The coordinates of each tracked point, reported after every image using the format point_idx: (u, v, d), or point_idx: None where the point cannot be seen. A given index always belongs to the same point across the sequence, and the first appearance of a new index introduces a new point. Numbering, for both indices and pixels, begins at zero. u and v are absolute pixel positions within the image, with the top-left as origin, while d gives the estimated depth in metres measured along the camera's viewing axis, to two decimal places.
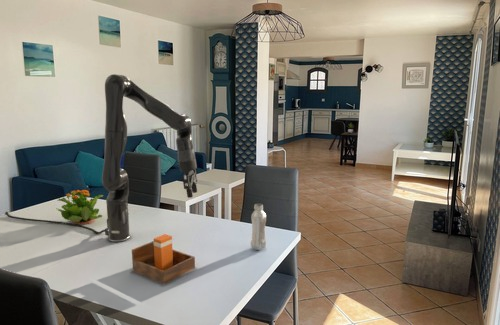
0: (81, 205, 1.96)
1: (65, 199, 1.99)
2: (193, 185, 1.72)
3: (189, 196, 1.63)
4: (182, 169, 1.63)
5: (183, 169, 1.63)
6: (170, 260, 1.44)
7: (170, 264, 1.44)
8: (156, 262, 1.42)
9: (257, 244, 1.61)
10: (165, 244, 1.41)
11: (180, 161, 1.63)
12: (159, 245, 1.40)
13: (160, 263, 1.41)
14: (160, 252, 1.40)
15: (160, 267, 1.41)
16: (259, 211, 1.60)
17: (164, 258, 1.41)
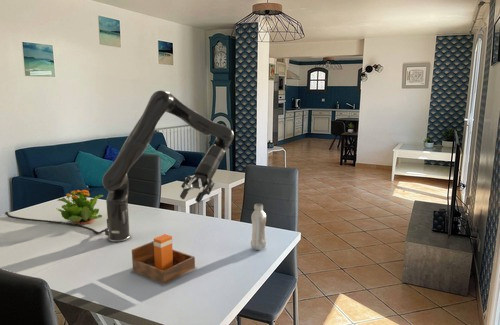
0: (81, 205, 1.96)
1: (65, 199, 1.99)
2: (186, 191, 1.55)
3: (199, 200, 1.49)
4: (207, 173, 1.54)
5: (208, 174, 1.54)
6: (170, 260, 1.44)
7: (170, 264, 1.44)
8: (156, 262, 1.42)
9: (257, 244, 1.61)
10: (165, 244, 1.41)
11: (210, 165, 1.56)
12: (159, 245, 1.40)
13: (160, 263, 1.41)
14: (160, 252, 1.40)
15: (160, 267, 1.41)
16: (259, 211, 1.60)
17: (164, 258, 1.41)
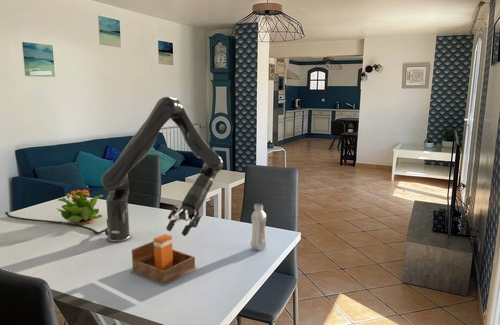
0: (81, 205, 1.96)
1: (65, 199, 1.99)
2: (172, 223, 1.51)
3: (185, 234, 1.45)
4: (194, 204, 1.50)
5: (195, 205, 1.50)
6: (170, 260, 1.44)
7: (170, 264, 1.44)
8: (156, 262, 1.42)
9: (257, 244, 1.61)
10: (165, 244, 1.41)
11: (197, 196, 1.51)
12: (159, 245, 1.40)
13: (160, 263, 1.41)
14: (160, 252, 1.40)
15: (160, 267, 1.41)
16: (259, 211, 1.60)
17: (164, 258, 1.41)
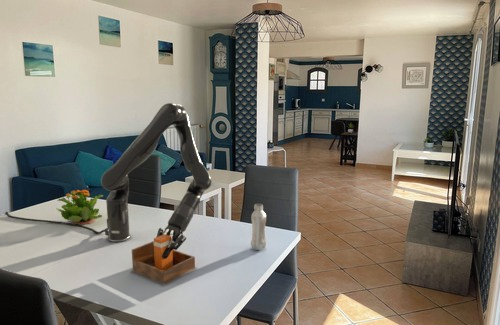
0: (81, 205, 1.96)
1: (65, 199, 1.99)
2: None
3: (166, 256, 1.40)
4: (180, 224, 1.44)
5: (181, 225, 1.45)
6: (170, 260, 1.44)
7: (170, 264, 1.44)
8: (156, 262, 1.42)
9: (257, 244, 1.61)
10: (165, 244, 1.41)
11: (184, 216, 1.46)
12: (159, 245, 1.40)
13: (160, 263, 1.41)
14: (160, 252, 1.40)
15: (160, 267, 1.41)
16: (259, 211, 1.60)
17: None
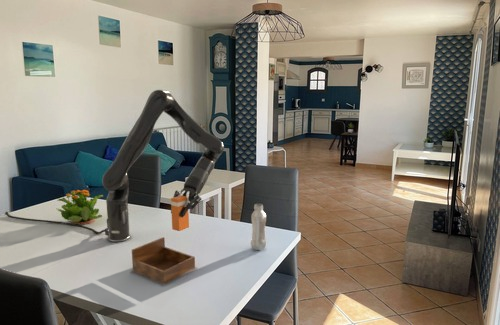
0: (81, 205, 1.96)
1: (65, 199, 1.99)
2: None
3: (182, 215, 1.49)
4: (196, 186, 1.53)
5: (197, 187, 1.53)
6: (187, 219, 1.53)
7: (186, 223, 1.53)
8: (173, 221, 1.51)
9: (257, 244, 1.61)
10: (182, 203, 1.49)
11: (199, 178, 1.55)
12: (176, 204, 1.48)
13: (177, 221, 1.49)
14: (177, 211, 1.48)
15: (177, 226, 1.50)
16: (259, 211, 1.60)
17: (181, 217, 1.50)
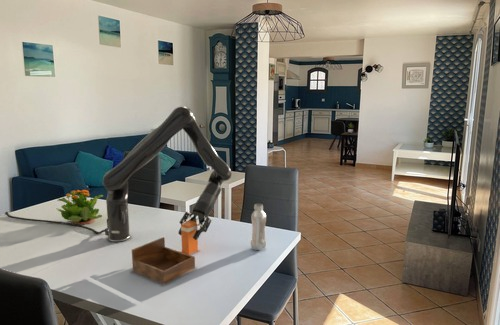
0: (81, 205, 1.96)
1: (65, 199, 1.99)
2: None
3: (196, 238, 1.56)
4: (204, 210, 1.61)
5: (205, 211, 1.61)
6: (196, 244, 1.61)
7: (195, 247, 1.61)
8: (183, 245, 1.59)
9: (257, 244, 1.61)
10: (191, 229, 1.58)
11: (207, 203, 1.63)
12: (186, 230, 1.56)
13: (187, 246, 1.57)
14: (187, 236, 1.56)
15: (187, 250, 1.58)
16: (259, 211, 1.60)
17: (191, 242, 1.58)
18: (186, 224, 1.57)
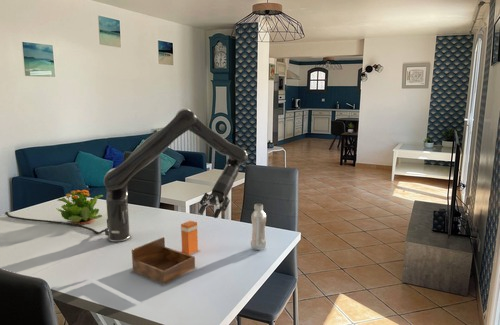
0: (81, 205, 1.96)
1: (65, 199, 1.99)
2: (204, 207, 1.72)
3: (216, 216, 1.65)
4: (223, 191, 1.71)
5: (224, 192, 1.71)
6: (196, 244, 1.61)
7: (195, 247, 1.61)
8: (183, 245, 1.59)
9: (257, 244, 1.61)
10: (191, 229, 1.58)
11: (226, 184, 1.72)
12: (186, 230, 1.56)
13: (187, 246, 1.57)
14: (187, 236, 1.57)
15: (187, 250, 1.58)
16: (259, 211, 1.60)
17: (191, 242, 1.58)
18: (186, 224, 1.57)
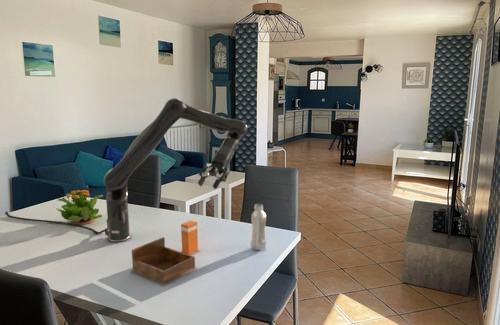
0: (81, 205, 1.96)
1: (65, 199, 1.99)
2: (203, 178, 1.69)
3: (216, 186, 1.63)
4: (223, 162, 1.68)
5: (224, 163, 1.68)
6: (196, 244, 1.61)
7: (195, 247, 1.61)
8: (183, 245, 1.59)
9: (257, 244, 1.61)
10: (191, 229, 1.58)
11: (225, 155, 1.70)
12: (186, 230, 1.56)
13: (187, 246, 1.57)
14: (187, 236, 1.57)
15: (187, 250, 1.58)
16: (259, 211, 1.60)
17: (191, 242, 1.58)
18: (186, 224, 1.57)
